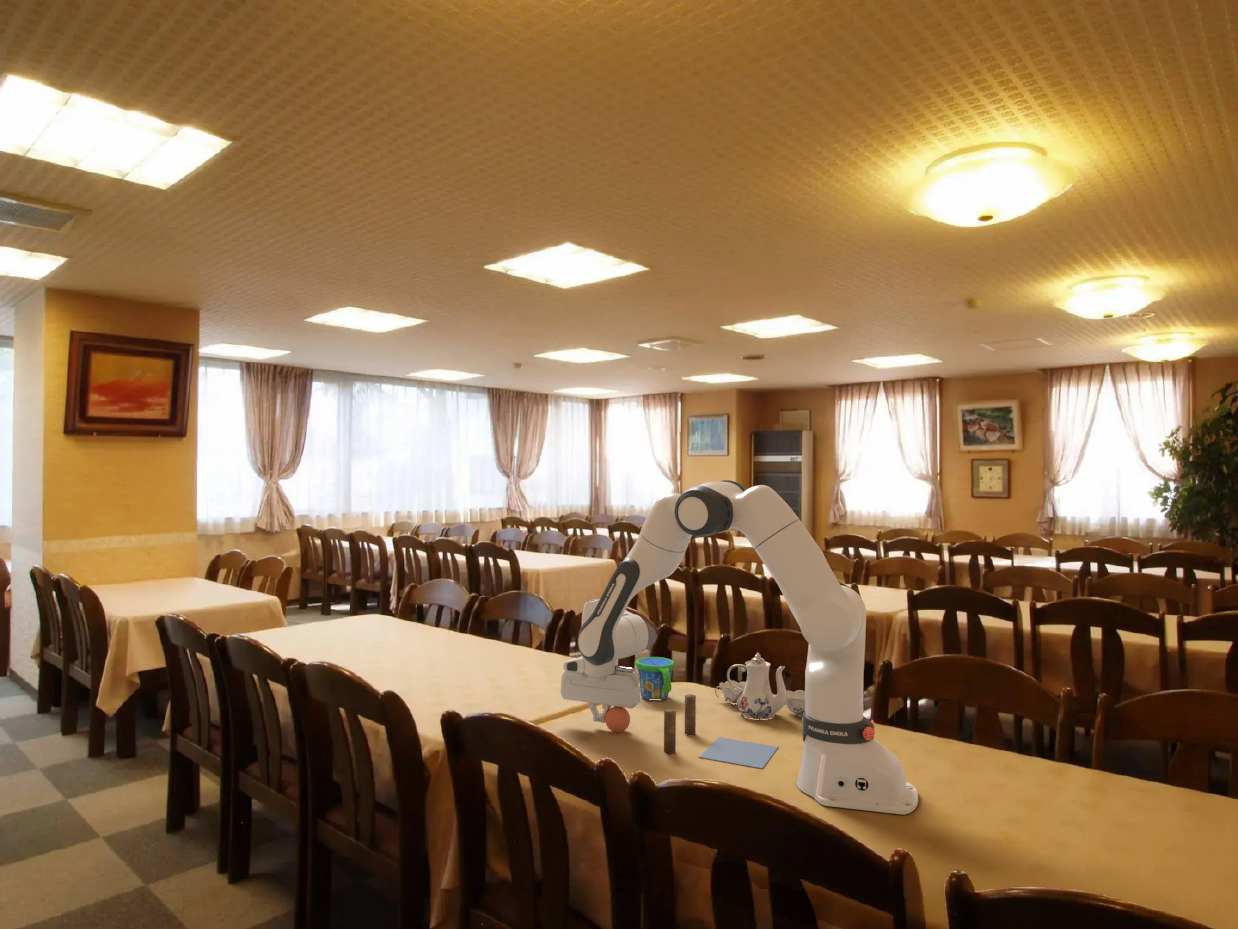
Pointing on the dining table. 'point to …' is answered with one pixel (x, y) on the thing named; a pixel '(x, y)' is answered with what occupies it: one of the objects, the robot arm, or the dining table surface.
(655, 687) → the snack cup
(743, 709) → the chinaware
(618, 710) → the ball
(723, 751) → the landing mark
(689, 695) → the post
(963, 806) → the dining table surface
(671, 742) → the post
